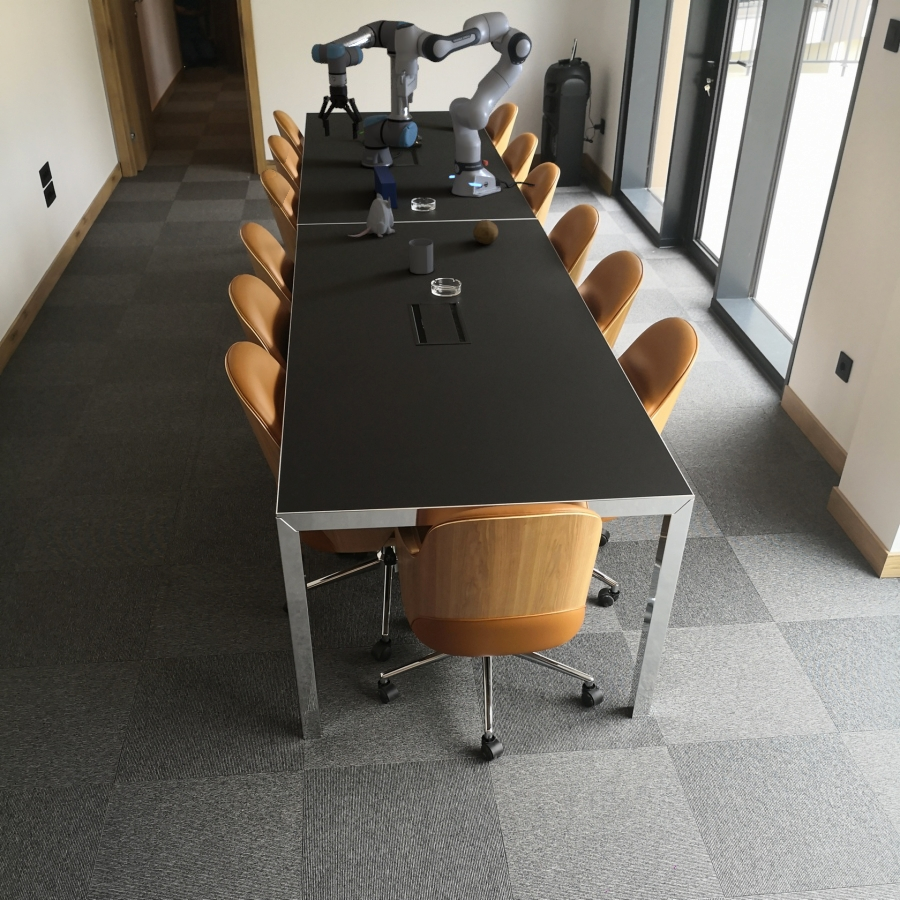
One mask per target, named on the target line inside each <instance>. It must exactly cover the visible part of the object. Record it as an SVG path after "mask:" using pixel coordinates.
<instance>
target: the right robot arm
mask: <svg viewBox="0 0 900 900" xmlns="http://www.w3.org/2000/svg"><path fill="white" fill-rule="evenodd" d="M488 43H490V46H491V47H492V48H493V50H494V51H496V52H498V53H499V54H500V57H499V60H498V61H497V63H496V64H495V65H494V66H493V67H492V68H491V69H490V70H488V72H487V73H486V74H485V75H484V76H483V78H482V79H481V80H480V81H479V82H478V84H477V87H476V90H475V92H474V94H473V96H471V98H468V97H465V96H464V97H461V96H459V97H456V98H454V99H452V100H451V102H450V104H449V106H448V113H449V115H450V118H451V123H452V128H453V134H454V135H453V136H454V142H455V143H454V144H455V146H454V148H455V149H454V150H455V156H454V157H455V158H454V165H453V166H454V167H453V170H454V175H449V179H453V184H452V189H451V193H452V194H453V195H457V196H461V197H472V198H473V197H475V198H480V197H484V196H487V195H491V194H495V193H498V192H501V191H502V188H501V184H504V185H505V186H506V187H507V188H508V189H509V188H512V187H514V185H526V186H531V187H535V186H536V184H535V183H530V182H524V181H514V182H512V183H511V184H510V185H509V184H508V182H507V181H505V180H501V179H499V178H498V177H495V175H494V174H493V173H491V172H490V171H489V170H488V169H486V168H485V167H484V166H488V165H489V161H488V160H485V159H481V153H482V152H481V151H482V150H481V148H482V147H481V146H482V144H481V143H482V142H481V139H480V138H481V137H480V136H479V131H480V130H483V129H484V128H486V127H487V125H488V124H489V120H490V115H491V113H492V111H493V110H494V108H495V106H496V105H497V103H499V101H500V100H501V99H502V98H503V96H505V95H506V93H507V92H508V91H509V90H510V89H511V88H512V87H513V85H514V84H515V83H516V81H517V80H518V79H519V77H520V76H521V74H522V72H523V70H524V69H523V63H525V62H526V60H527V58H528V57H529V56H530V53H531V51H532V47H533V42H532V40H531V38H530V36H529V35H528V34H526V33H525V32H523V31H521V30H520V29H518V28H516V27H512V26H510V24H509V20H508V16H506V14H505V13H503V12H502V11H490V12H483V13H479V14H476V15H474V16H471V17H469V18H467V19H466V20H465V21H464V23H463V25H462V30H460V31H457V32H455V33H451V34H448V35H443V34H440V33H439V34H438V33H434V32H430V31H428V30H424V29H422V28H420V27H418V26H417V25H416V24H415V23H412V22H409V23H405V24H401V25H399V26H398V27H397V28H396V31H395V51H396V59H395V64H396V74H399V77H398V97H401V100H402V103H403V108H407V107H408V103H409V104H412V103H413V102H414V92H415V91H416V89H417V87H418V74H419V73H418V72H419V69H420V66H419V64H418V59H419V58H423V59H426V60H428V61H430V62H432V63H440V62H443V61H444V60H445V59H446V58H448V57H449V56H450V55H451V54H453V53H455V52H458V51H461V50H465V49H468V48H470V47H476V46H481V45H486V44H488ZM407 96H408V103H407Z"/></svg>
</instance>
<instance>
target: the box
mask: <svg viewBox="0 0 900 900" xmlns="http://www.w3.org/2000/svg"><path fill="white" fill-rule="evenodd" d="M373 174H374V175H373V177H374V191H375V195H377V193H379V194H380V195H381V196H382V198H383V200H386V201H388V199H389V198H390V204H391V210H393V209H397V208H398V206H397V205H398V204H397V203H398V202H397V181H396V180H395V178H394V176H393V174H392V171H391V170H390V167H388V166H374V169H373Z"/></svg>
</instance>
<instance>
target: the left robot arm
mask: <svg viewBox="0 0 900 900" xmlns="http://www.w3.org/2000/svg"><path fill="white" fill-rule="evenodd" d="M405 23H410V22H409V21H404V20H387V19H379V20H376V21H372V22H369V23H366V24H364V25H361V26H360V27H359V28H358V29H357V30H356V31H354V32H351V33H348V34H347V35H344V36H341V37H339V38H337V39H334V40H332V41H330V42H329V41H328V42H327V43H323V44H322V43H315V44H314V45H313V46H312V48H311V53H310V54H311V59H312V61H313V62H314V63H317V64H321V65H327V71H328V72H327V73H328V84H329V86H328V89H329V95H328V94H327V95H324V96H323V97H322V98H323V99H322V100H323V101H322V104H321V107H320V110H319V112H318V115H317V118H318V119H319V120H322V128H323V129H324V137H326V138H327V137H329V136H330V135H331V132H330V131H331V130H330V120H329V119H328V118H329V116H330V115H331V114H332V112H333V110H334V109H340V110H343V111H345V113H346V114H347V115H348V117H349V118H350V119H351V121H352V122H353V123H352V126H351V128H352V140H353V141H354V140H357V139H358V131H359V130H360V129H359V128H360V127H359V126H360V125H359V124H360V123H361V122H363V131H364V133H363V138H364V139H363V140H364V141H363V142H365V144H364V151H363V155H362V159H361V166H362V167H363V168H366V169H371V170H374V166H388V167H389V168H390V167H392V166H394V161H393V159H395V158H397V157H399V156H401V155H402V150H399V153H398V154H396V155H393V156H392V155H391V152H390V151H391V150H390V147H389V146H393V147H397V148H398V147H399V148H410V147H412V146H413V145H414V143H415V141H416V139H417V136H418V126H417V123H416V122H414V121H413V116H412V115H411V114H410V103H408V96H407V103H408V107H407V108H403V103H402V100H401V97H398V77H399V74H396V64H395V59H396V51H395V31H396V28H397V27H398V26H399V25H401V24H405ZM371 48H372V49H373V48H375V49H376V48H379V49H385V50H386V55H387V56H388V57H389V61H390V63H389V64H390V65H389V67H390V68H389V70H390V114H389V115H387V114H373V115H370V116H366V117H365V118H364V119H363V118H362V115H361V113H360V111H359V109H358V106H357V104H356V99H355V97H351V98H349V97H348V93H349V92H348V85H347V84H348V76H347V68H351V67H355V66H356V67H357V66H358V65H360V64H362V62H363V61H364V52H363V49H366V50H369V49H371ZM329 102H330V104H329ZM328 104H329V106H328ZM327 107H328V108H327Z"/></svg>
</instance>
